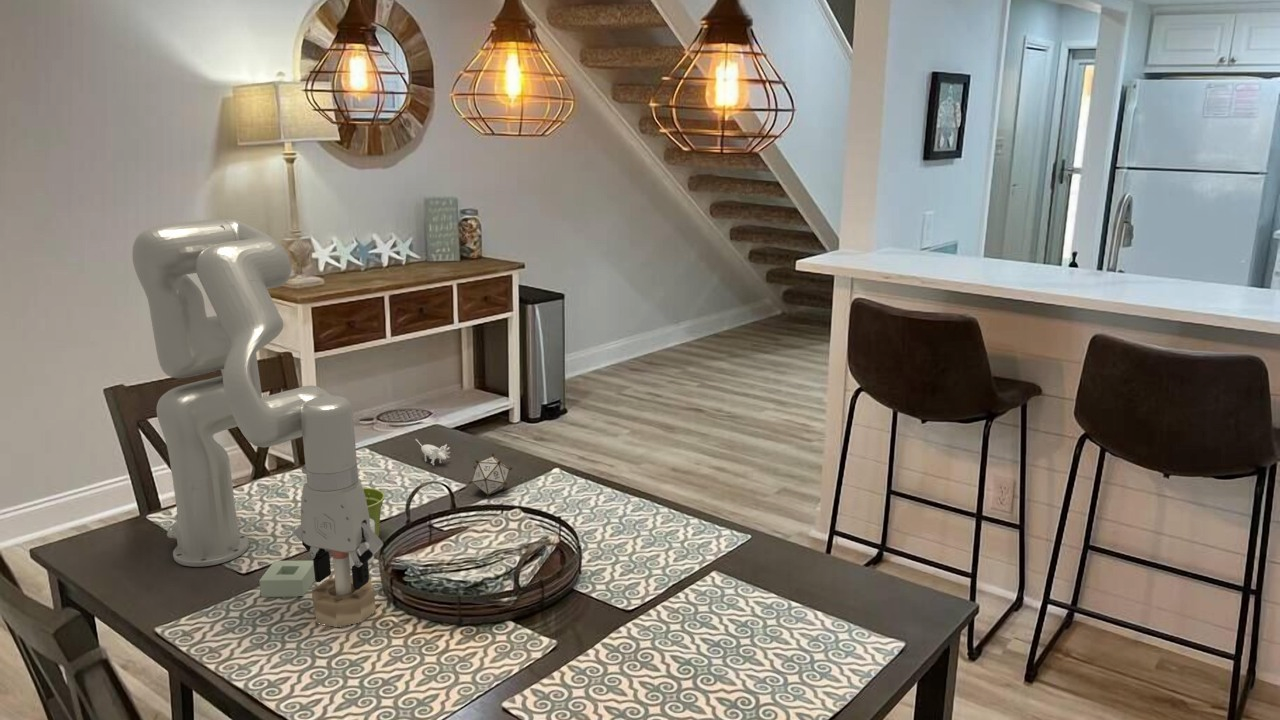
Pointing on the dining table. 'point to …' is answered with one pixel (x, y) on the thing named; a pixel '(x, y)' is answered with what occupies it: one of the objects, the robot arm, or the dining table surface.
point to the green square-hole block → (287, 579)
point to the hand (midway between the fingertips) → (342, 581)
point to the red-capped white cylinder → (342, 573)
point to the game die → (490, 475)
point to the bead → (342, 604)
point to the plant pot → (374, 505)
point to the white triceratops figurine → (434, 452)
